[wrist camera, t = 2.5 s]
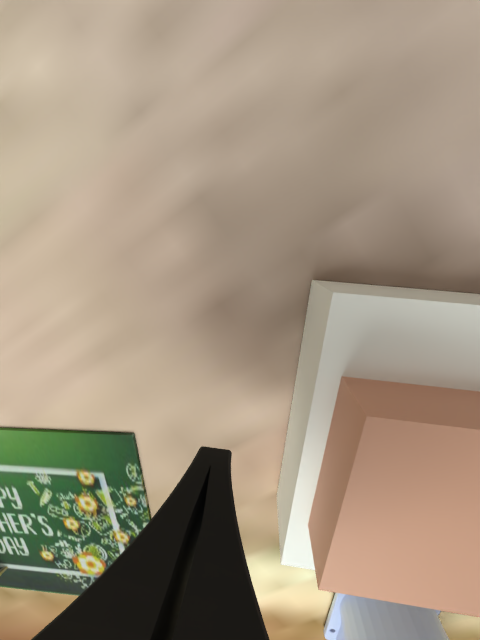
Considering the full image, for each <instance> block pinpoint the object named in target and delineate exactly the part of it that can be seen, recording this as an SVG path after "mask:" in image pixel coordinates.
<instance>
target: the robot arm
mask: <svg viewBox="0 0 480 640" xmlns="http://www.w3.org/2000/svg"><path fill="white" fill-rule="evenodd" d="M231 454H232V453H231V451H230V450H225V449H217V448H210V447H201V448H200V449H199V451H198V453H197V455H196V456H195V458H194V460H193V461H192V463H191V465H190V466H189V468H188V470H187V471H186V473H185V474H184V476H183V477H182V479H181V480H180V482H179V483H178V484H177V486H176V487H175V489H174V490H173V492H172V493H171V494H170V496H169V497H168V498H167V500H166V501H165V502H164V504H163V505H162V506H161V508H160V509H159V510H158V511H157V513H156V514H155V515H154V517H153V518H152V519H151V520H150V521H149V523H148V524H147V525H146V526H145V527H144V529H143V530H142V531H141V532H140V533H139V534H138V536H137V537H136V538H135V539H134V540H133V541H132V542H131V544H130V545H129V546H128V547H127V548H126V549H125V550H124V551H123V552H122V553H121V554H120V555H119V557H118V558H117V559H116V560H115V561H114V562H113V563H112V564H111V565H110V566H109V567H108V568H107V569H106V570H105V571H104V572H103V573H102V574H101V575H100V576H99V577H98V578H97V579H96V580H95V581H94V582H93V583H92V584H91V585H90V586H89V587H88V588H87V589H86V590H85V591H84V592H83V593H82V594H81V595H80V596H79V597H78V598H77V599H76V600H75V601H73V602H72V603H71V604H70V605H69V606H68V607H67V608H66V609H65V610H64V611H63V612H62V613H61V614H60V615H58V616H57V617H56V618H55V619H54V620H53V621H52V622H51V623H49V624H48V625H47V626H46V627H45V628H44V629H43V630H42V631H40V632H39V633H38V634H37V635H36V636H35V637H34V638H33V639H31V640H269V637H268V634H267V631H266V628H265V625H264V622H263V618H262V615H261V612H260V608H259V605H258V602H257V598H256V595H255V592H254V588H253V585H252V581H251V578H250V574H249V570H248V566H247V563H246V559H245V554H244V550H243V546H242V542H241V537H240V532H239V527H238V522H237V517H236V511H235V505H234V498H233V491H232V482H231ZM440 612H441V611H440V610H435V609H429V608H423V607H417V606H411V605H405V604H399V603H394V602H388V601H382V600H376V599H370V598H364V597H358V596H352V595H347V594H341V593H335V595H334V599H333V602H332V605H331V608H330V611H329V614H328V618H327V621H326V624H325V627H324V637H325V638H326V639H328V640H449V638H448V636H447V634H446V632H445V630H444V628H443V626H442V624H441V622H440V620H439V617H438V615H439V614H440Z"/></svg>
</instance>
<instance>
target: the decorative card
mask: <svg viewBox="0 0 480 640" xmlns="http://www.w3.org/2000/svg"><path fill="white" fill-rule="evenodd" d="M150 520H151V515H150V510H149V505H148V500H147V495H146V490H145V485H144V480H143V475H142V470H141V465H140V460H139V455H138V450H137V445H136V440H135V435H134V433H121V432H96V431H72V430H48V429H23V428H0V587H7V588H16V589H24V590H33V591H42V592H50V593H59V594H68V595H77V596H80V595H81V594H82V593H83V592H84V591H85V590H86V589H87V588H88V587H89V586H90V585H91V584H92V583H93V582H94V581H95V580H96V579H97V578H98V577H99V576H100V575H101V574H102V573H103V572H104V571H105V570H106V569H107V568H108V567H109V566H110V565H111V564H112V563H113V562H114V561H115V560H116V559H117V558H118V557H119V555H120V554H121V553H122V552H123V551H124V550H125V549H126V548H127V547H128V546H129V545H130V544H131V542H132V541H133V540H134V539H135V538H136V537H137V536H138V534H139V533H140V532H141V531H142V530H143V529H144V527H145V526H146V525H147V524H148V523H149V521H150Z"/></svg>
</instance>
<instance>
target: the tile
mask: <svg viewBox="0 0 480 640" xmlns="http://www.w3.org/2000/svg"><path fill="white" fill-rule="evenodd" d="M308 529H309V535H310V541H311V548H312V554H313V560H314V566H315V572H316V578H317V584H318V590H323V591H329V592H335V593H341V594H347V595H352V596H358V597H364V598H370V599H376V600H382V601H388V602H394V603H399V604H405V605H411V606H417V607H423V608H429V609H435V610H440V611H446V612H452V613H458V614H464V615H470V616H476V617H480V392H479V391H470V390H461V389H452V388H443V387H434V386H425V385H416V384H407V383H398V382H389V381H380V380H371V379H362V378H353V377H344V376H341V381H340V385H339V389H338V394H337V398H336V403H335V407H334V411H333V416H332V420H331V425H330V429H329V434H328V438H327V442H326V447H325V451H324V456H323V460H322V464H321V469H320V473H319V478H318V482H317V486H316V491H315V495H314V500H313V504H312V508H311V513H310V517H309V522H308Z"/></svg>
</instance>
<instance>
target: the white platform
mask: <svg viewBox="0 0 480 640" xmlns="http://www.w3.org/2000/svg"><path fill="white" fill-rule="evenodd" d="M341 376H344V377H353V378H362V379H371V380H380V381H389V382H398V383H407V384H416V385H425V386H434V387H443V388H452V389H461V390H470V391H479V392H480V294H473V293H461V292H450V291H438V290H426V289H414V288H402V287H391V286H379V285H367V284H355V283H343V282H332V281H320V280H312V282H311V288H310V295H309V301H308V307H307V313H306V319H305V325H304V331H303V337H302V344H301V350H300V356H299V362H298V368H297V374H296V380H295V387H294V393H293V399H292V405H291V411H290V417H289V423H288V430H287V436H286V442H285V448H284V454H283V460H282V466H281V472H280V479H279V485H278V491H277V508H278V525H279V542H280V559H281V565H288V566H294V567H300V568H306V569H312V570H315V566H314V560H313V554H312V548H311V541H310V535H309V529H308V522H309V517H310V513H311V508H312V504H313V500H314V495H315V491H316V486H317V482H318V478H319V473H320V469H321V464H322V460H323V456H324V451H325V447H326V442H327V438H328V434H329V429H330V425H331V420H332V416H333V411H334V407H335V403H336V398H337V394H338V389H339V385H340V381H341Z"/></svg>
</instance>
